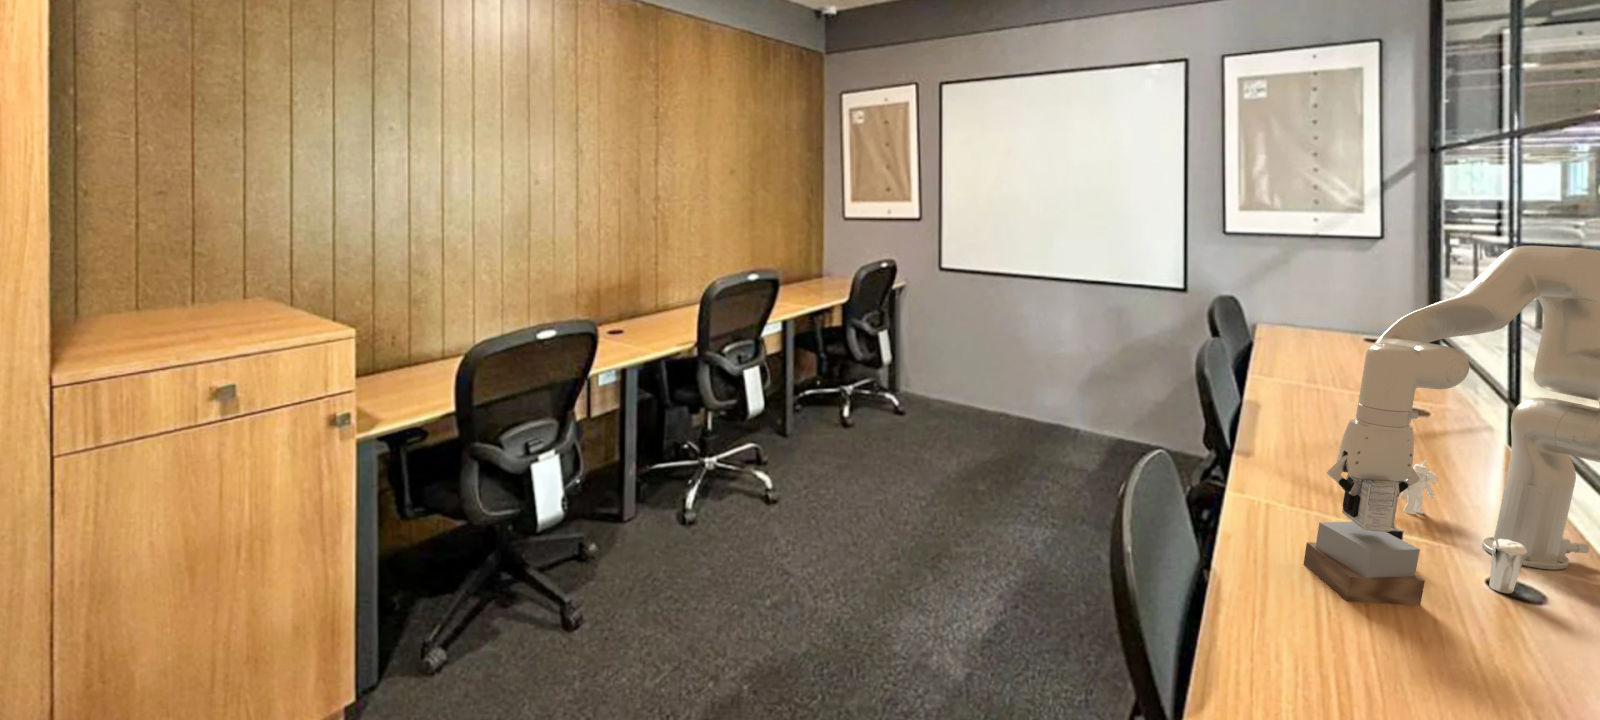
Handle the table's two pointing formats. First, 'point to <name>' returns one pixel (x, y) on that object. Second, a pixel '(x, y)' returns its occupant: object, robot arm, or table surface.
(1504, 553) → the milkshake
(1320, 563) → the lower block
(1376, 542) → the upper block
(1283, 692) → the table surface
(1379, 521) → the medicine box
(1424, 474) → the blocky character figurine
